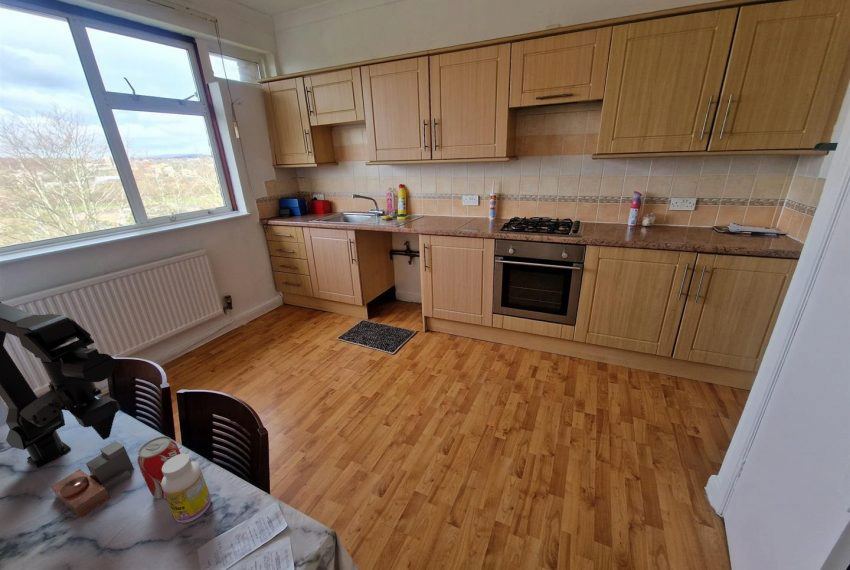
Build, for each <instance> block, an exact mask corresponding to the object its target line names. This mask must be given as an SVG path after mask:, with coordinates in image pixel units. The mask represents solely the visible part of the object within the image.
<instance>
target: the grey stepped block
mask: <svg viewBox="0 0 850 570" xmlns="http://www.w3.org/2000/svg"><path fill="white" fill-rule="evenodd" d="M99 451H100V453H101V454H99V455H97V456H95V457H94V458H93V459H91V460H89V461H87V462H86V463H85V465H86V467H87V469H88V471H89V473H91V475H92V477H93V479H94V480H95V481H96V482H97V483H99V484H100V485H102V484H103V483H105V482H106V481H108V480H109V479H111V478H112V477H114V476H115V475H117V474H118V473H120V472H121V471H123V470H124V469H127V470H128V472H129V473H131V472H132V471H134V470H135V467H134V466H133V463H132V460H131V458H130V456H129V454H128V452H127V449H126V447H125V446H124V445H123V444H122V443H120V442H118V441H116V440H114V441H113V442H111V443H108V444H107V445H105V446H104V447H102V448H100V450H99Z"/></svg>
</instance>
